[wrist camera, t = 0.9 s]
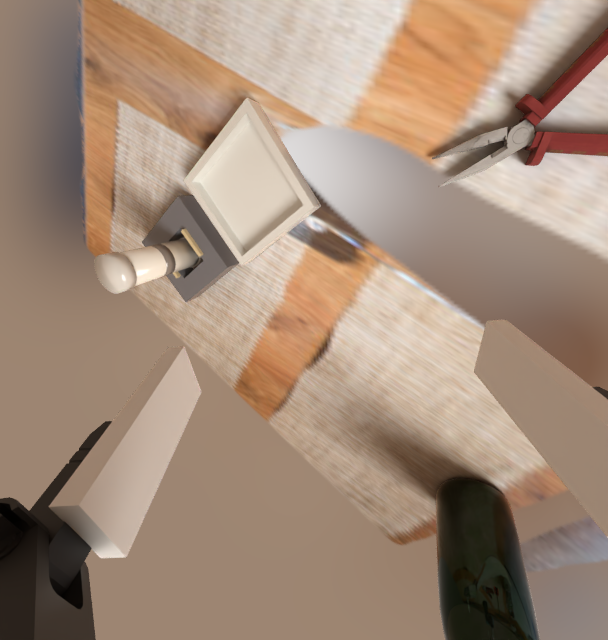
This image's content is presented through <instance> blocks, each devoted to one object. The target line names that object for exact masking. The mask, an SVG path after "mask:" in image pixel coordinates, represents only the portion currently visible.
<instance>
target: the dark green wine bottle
mask: <svg viewBox="0 0 608 640" xmlns="http://www.w3.org/2000/svg"><path fill="white" fill-rule="evenodd" d="M436 533H437V564H438V587H439V602H440V614H441V620H442V625H443V632H444V637H445V640H540V638H539V632H538V627H537V621H536V616H535V610H534V606H533V601H532V596H531V592H530V587H529V583H528V578H527V573H526V569H525V564H524V560H523V555H522V551H521V546H520V541H519V537H518V533H517V529H516V524H515V520H514V516H513V513H512V509H511V506H510V504H509V502H508V500H507V499H506V498H505V497H504V496H503V495H502V493H500V492H499V491H498V490H497V489H495V488H493V487H492V486H490V485H488V484H485V483H483V482H480V481H477V480H472V479H463V478H459V479H452V480H448V481H446V482H444V483H443V484H441V485H440V487H439V488H438V490H437V493H436Z"/></svg>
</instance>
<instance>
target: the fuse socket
mask: <svg viewBox="0 0 608 640" xmlns="http://www.w3.org/2000/svg"><path fill="white" fill-rule="evenodd" d="M183 237H185V238H186V239H187V241H188V242H189V244H190V245H191V247H192V248H193V249H194V251H195V252H196V254H197V255H198V256H199V257H200V256H201V258H202V259H203V262H201V263H200V264H199V265H198V266H197V267H196V268H195V269H193V267H189V268H186V269H183V270H180V271H177V272H174V273H172V274H169V275H167V277H168V279H169V280H170V281H171V283H172V284H173V285H174V287H175V288H176V289H177V291H178V292H179V294H180V295H181V296H182V298H183V299H184V300H185V302H188V301H190V300H192V299H194V298H196V297H198V296H200V295H201V294H202V293H203V292H204V291H206V290H207V289H208V288H209V287H211V286H212V285H213V284H214V283H215V282H217V281H218V280H219V279H220V278H221V277H223V276H224V275H225V274H226V273H228V272H229V271H230V270H231V269H232V268H234V267H235V266H236V265H237V264H239V262H238V261H237V259H236V258H235V256H234V255H233V253H232V252H231V250H230V249H229V247H228V246H227V244H226V243H225V242H224V240H223V239H222V237H221V236H220V234H219V233H218V231H217V230H216V228H215V227H214V225H213V224H212V222H211V221H210V220H209V218H208V217H207V215H206V214H205V212H204V211H203V209H202V208H201V206H200V205H199V203H198V202H197V200H196V199H195V198H194V196H193V195H190V196H178V197H177V198H176V199H175V200H174V202H173V203H172V204H171V206H170V207H169V208H168V209H167V211H166V212H165V213H164V215H163V216H162V217H161V218H160V220H159V221H158V222H157V223H156V225H155V226H154V227H153V229H152V230H151V231H150V232H149V234H148V235H147V236H146V238H145V239H144V240H143V241H142V243H143V244H144V246H145V247H147V246H151V245H155V244H162V243H166V242H171V241H175V240H179V239H180V238H183Z"/></svg>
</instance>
